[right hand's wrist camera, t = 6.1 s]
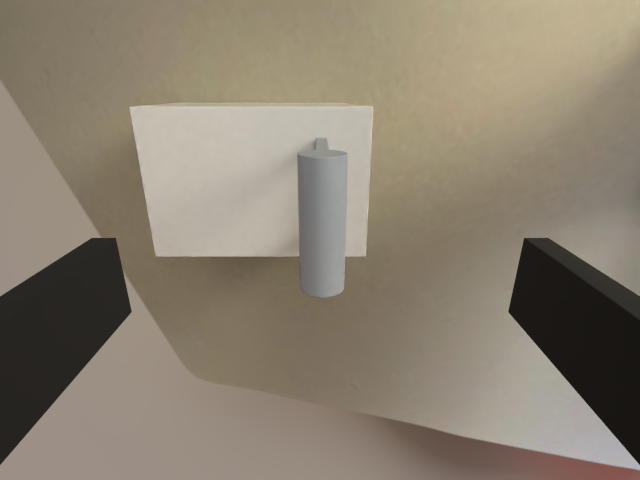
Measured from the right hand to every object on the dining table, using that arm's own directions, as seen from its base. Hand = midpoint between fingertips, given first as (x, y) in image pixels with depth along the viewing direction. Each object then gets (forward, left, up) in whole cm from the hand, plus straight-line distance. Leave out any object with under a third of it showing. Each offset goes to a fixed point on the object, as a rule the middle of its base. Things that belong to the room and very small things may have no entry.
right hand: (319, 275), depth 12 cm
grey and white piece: (+1, -4, -14) cm, 14 cm away
